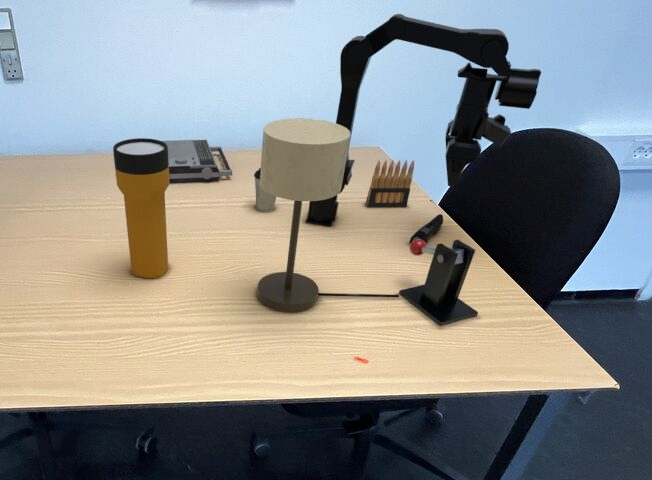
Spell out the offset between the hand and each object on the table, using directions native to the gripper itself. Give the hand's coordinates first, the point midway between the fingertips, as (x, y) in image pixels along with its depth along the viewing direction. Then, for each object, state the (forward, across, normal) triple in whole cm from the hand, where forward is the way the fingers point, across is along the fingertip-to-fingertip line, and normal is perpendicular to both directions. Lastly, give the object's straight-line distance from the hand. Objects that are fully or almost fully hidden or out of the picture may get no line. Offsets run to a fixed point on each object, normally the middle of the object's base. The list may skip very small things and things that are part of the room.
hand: (450, 178), depth 116 cm
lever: (+6, -28, +1) cm, 29 cm away
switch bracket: (+14, -31, -1) cm, 34 cm away
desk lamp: (+14, -35, +20) cm, 43 cm away
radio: (+15, +24, +70) cm, 76 cm away
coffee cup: (+15, +3, +42) cm, 45 cm away
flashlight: (+15, -37, +57) cm, 70 cm away
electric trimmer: (+14, 0, +2) cm, 15 cm away
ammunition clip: (+15, +16, +12) cm, 25 cm away
